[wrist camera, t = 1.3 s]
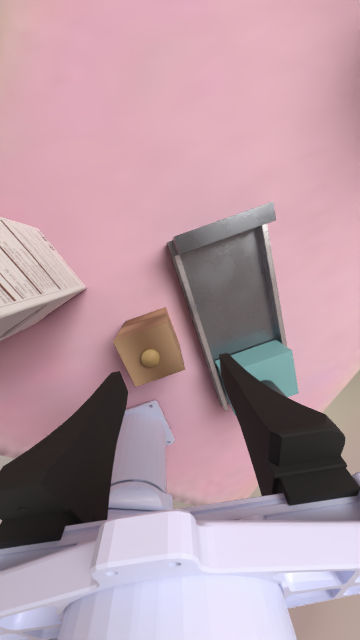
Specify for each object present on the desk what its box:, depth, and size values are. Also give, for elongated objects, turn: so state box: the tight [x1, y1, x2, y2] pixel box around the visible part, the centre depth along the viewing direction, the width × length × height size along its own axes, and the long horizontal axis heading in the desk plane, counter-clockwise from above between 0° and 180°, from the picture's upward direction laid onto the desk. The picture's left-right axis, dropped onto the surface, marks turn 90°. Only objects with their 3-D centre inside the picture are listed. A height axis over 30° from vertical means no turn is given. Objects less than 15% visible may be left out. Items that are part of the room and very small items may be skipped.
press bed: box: [167, 202, 287, 411], centre depth 21 cm, size 10×22×4 cm, turn 19°
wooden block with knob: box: [113, 307, 185, 387], centre depth 20 cm, size 5×5×6 cm
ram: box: [215, 340, 298, 415], centre depth 20 cm, size 8×6×8 cm
